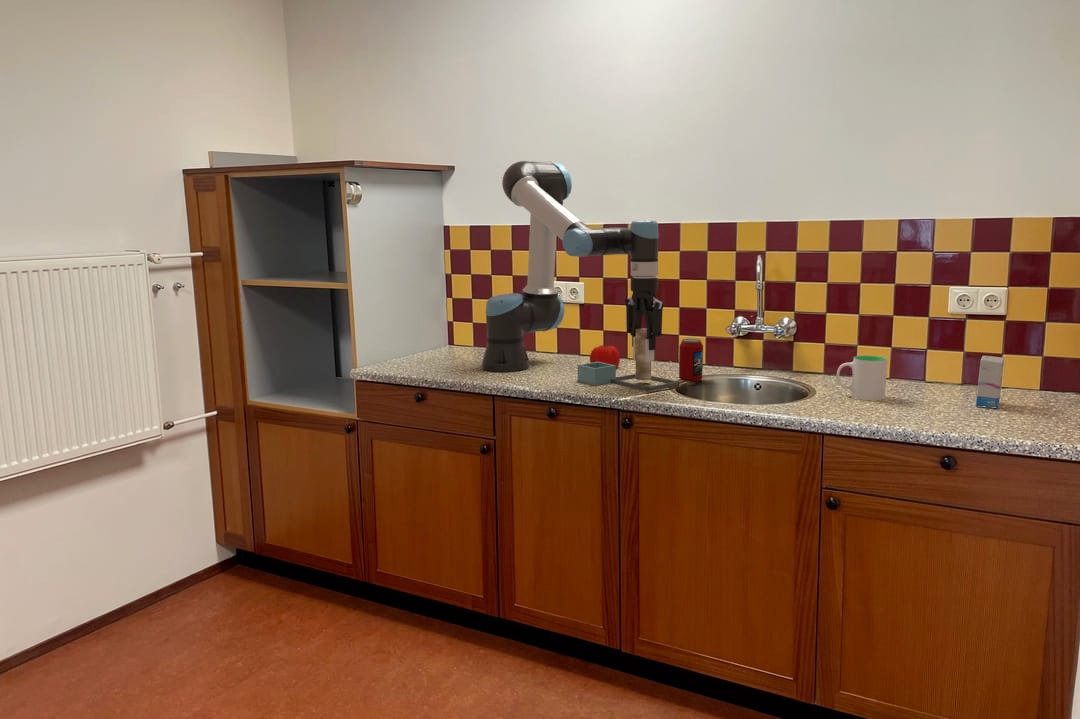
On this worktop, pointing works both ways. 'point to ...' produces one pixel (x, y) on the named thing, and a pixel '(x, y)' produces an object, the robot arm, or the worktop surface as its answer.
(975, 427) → the worktop surface
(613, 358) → the tomato
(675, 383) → the dark grey rectangular frame
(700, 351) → the beverage can
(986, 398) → the ink box
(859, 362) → the mug
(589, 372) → the teal open box
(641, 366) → the dowel
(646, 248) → the robot arm
